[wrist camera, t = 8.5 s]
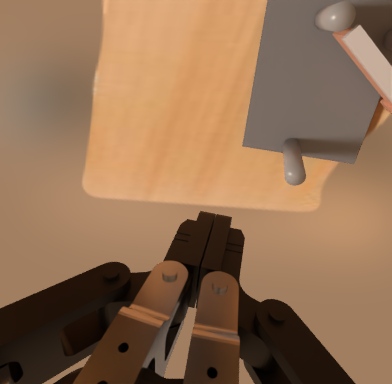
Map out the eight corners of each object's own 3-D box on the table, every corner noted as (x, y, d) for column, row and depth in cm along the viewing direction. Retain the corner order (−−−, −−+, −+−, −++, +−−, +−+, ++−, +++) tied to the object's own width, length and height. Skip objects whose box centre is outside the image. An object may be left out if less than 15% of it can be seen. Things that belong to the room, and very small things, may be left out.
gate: (327, 36, 30) (343, 39, 24) (339, 24, 30) (359, 24, 23) (385, 109, 32) (416, 131, 26) (398, 100, 32) (433, 120, 25)
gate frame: (271, -20, 30) (270, -37, 22) (420, -9, 28) (483, -24, 20) (243, 143, 39) (234, 175, 31) (353, 161, 37) (377, 200, 29)
